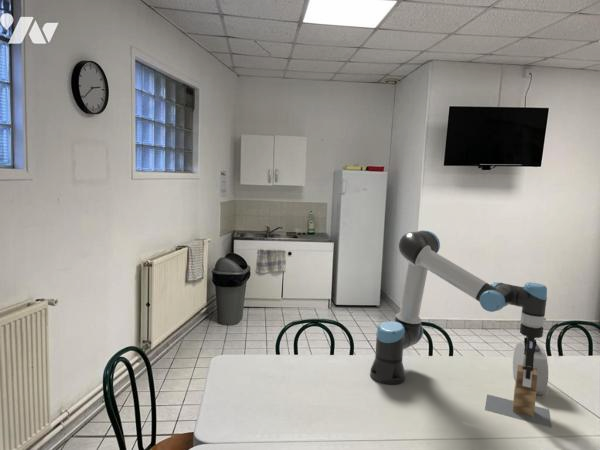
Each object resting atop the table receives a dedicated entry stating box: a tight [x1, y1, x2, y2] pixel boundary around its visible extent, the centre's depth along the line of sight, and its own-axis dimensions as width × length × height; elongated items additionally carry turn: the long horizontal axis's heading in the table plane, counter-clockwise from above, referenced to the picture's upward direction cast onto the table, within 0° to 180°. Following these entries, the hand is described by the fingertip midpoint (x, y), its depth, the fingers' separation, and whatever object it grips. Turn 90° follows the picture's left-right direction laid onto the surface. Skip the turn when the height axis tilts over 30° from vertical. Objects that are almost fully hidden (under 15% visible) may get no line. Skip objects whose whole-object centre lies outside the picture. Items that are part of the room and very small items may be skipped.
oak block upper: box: [513, 380, 537, 405], centre depth 161 cm, size 7×5×5 cm
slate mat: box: [484, 394, 553, 428], centre depth 162 cm, size 22×14×1 cm, turn 63°
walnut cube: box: [516, 365, 537, 392], centre depth 160 cm, size 6×6×6 cm
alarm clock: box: [512, 341, 549, 396], centre depth 182 cm, size 21×8×20 cm, turn 168°
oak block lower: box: [512, 398, 536, 417], centre depth 161 cm, size 7×5×5 cm
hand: (526, 379), depth 160 cm, fingers open, 13 cm apart
